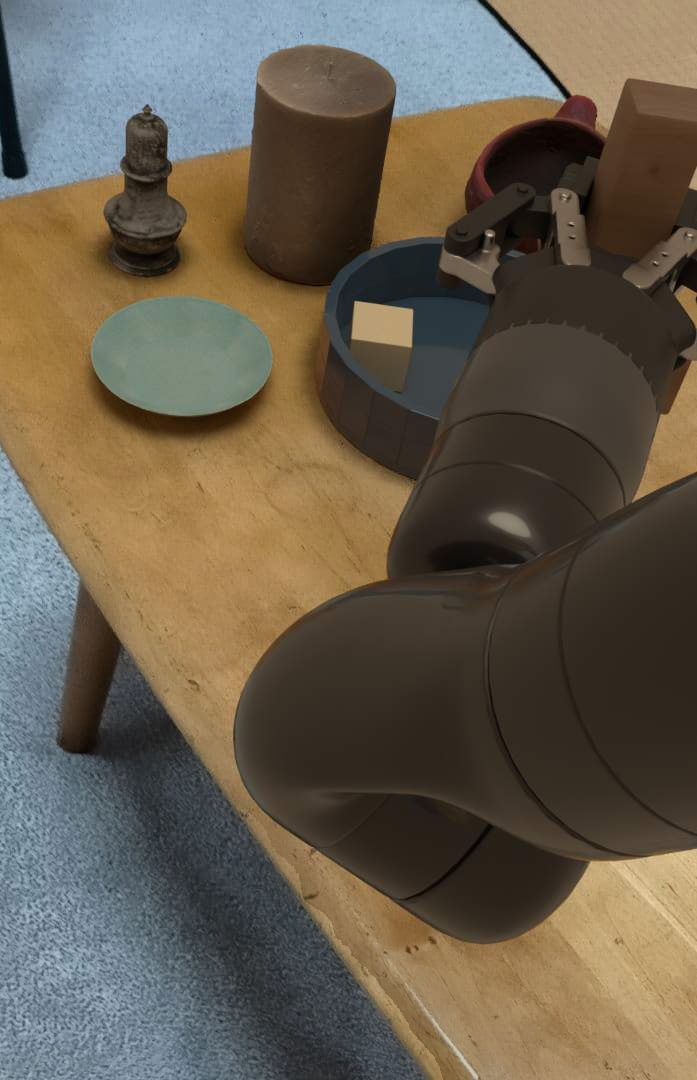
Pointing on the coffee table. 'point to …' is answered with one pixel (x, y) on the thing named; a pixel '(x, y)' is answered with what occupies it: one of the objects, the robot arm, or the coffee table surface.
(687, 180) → the wooden block
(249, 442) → the coffee table surface
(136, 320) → the saucer
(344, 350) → the bowl
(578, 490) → the robot arm
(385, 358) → the cube
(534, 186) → the bowl
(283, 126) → the pillar candle
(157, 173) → the salt shaker
